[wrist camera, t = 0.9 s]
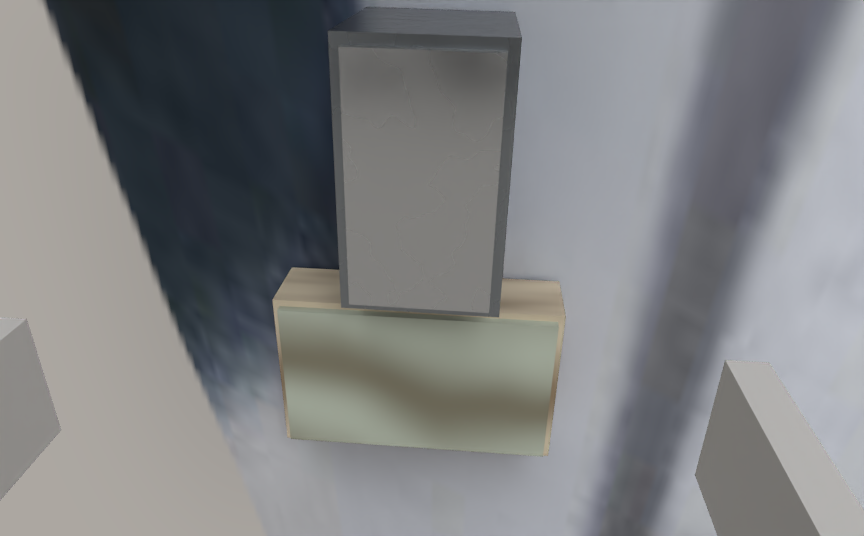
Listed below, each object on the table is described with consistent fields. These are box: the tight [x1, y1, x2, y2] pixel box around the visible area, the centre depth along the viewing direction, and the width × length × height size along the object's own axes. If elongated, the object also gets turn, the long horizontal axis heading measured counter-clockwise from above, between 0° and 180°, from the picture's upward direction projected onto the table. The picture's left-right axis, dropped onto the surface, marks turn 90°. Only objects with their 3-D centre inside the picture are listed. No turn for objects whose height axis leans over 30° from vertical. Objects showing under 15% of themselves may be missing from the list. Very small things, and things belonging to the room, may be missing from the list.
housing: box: [328, 7, 522, 317], centre depth 25 cm, size 10×6×7 cm, turn 179°
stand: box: [273, 267, 566, 457], centre depth 32 cm, size 8×13×4 cm, turn 89°
